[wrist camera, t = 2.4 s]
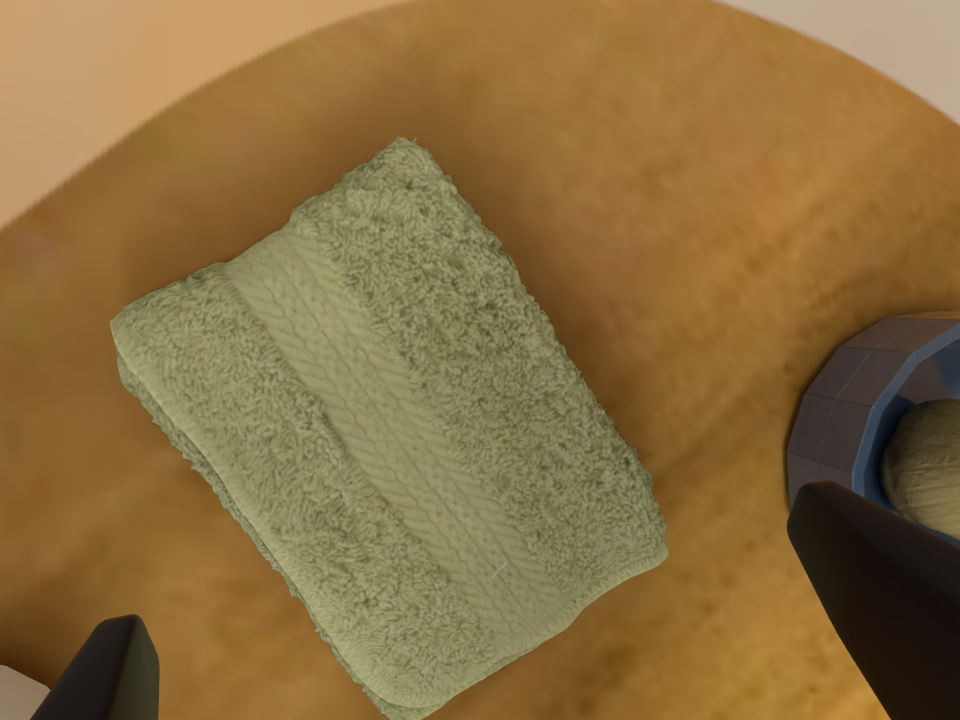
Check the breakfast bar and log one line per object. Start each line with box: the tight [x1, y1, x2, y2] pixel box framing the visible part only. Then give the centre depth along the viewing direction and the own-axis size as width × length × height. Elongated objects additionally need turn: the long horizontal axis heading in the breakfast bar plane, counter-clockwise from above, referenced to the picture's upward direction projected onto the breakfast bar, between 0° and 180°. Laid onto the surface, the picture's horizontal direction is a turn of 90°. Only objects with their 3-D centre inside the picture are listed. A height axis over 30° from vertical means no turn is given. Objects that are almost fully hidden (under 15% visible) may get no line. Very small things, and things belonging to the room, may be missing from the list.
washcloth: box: [110, 136, 669, 720], centre depth 24 cm, size 13×18×3 cm
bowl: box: [787, 311, 960, 548], centre depth 28 cm, size 12×12×4 cm
